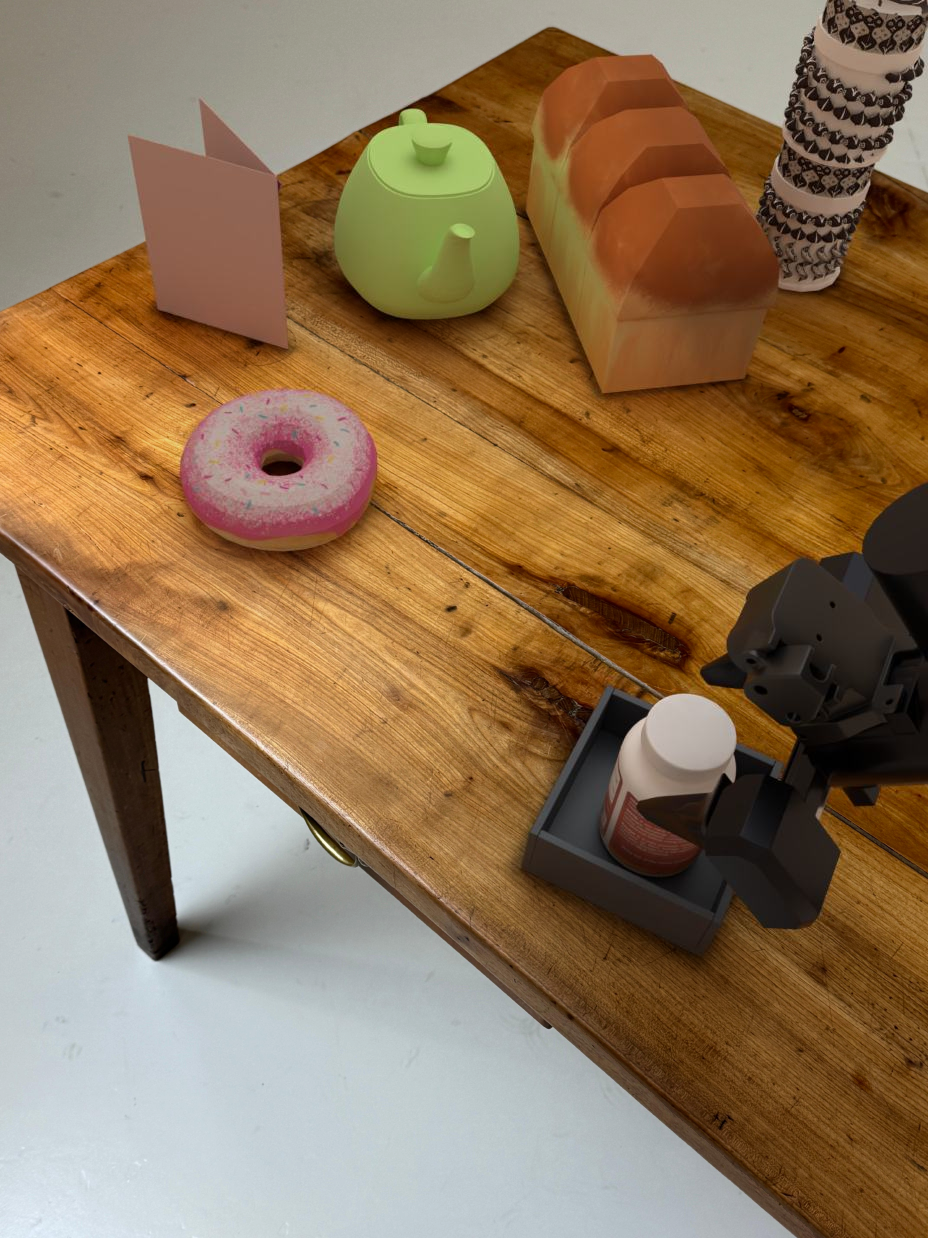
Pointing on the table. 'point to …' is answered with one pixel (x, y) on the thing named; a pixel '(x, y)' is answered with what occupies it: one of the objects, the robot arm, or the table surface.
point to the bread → (646, 229)
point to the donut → (279, 505)
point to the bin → (584, 866)
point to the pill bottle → (665, 779)
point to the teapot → (427, 222)
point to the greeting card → (213, 232)
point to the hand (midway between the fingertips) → (674, 740)
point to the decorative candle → (838, 132)
